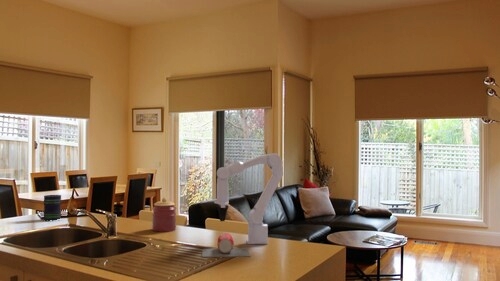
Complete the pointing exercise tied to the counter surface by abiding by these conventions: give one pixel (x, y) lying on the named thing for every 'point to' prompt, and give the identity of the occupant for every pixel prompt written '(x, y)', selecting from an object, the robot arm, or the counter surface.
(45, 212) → the storage jar
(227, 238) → the soda can
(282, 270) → the counter surface
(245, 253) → the mat
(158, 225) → the canister
